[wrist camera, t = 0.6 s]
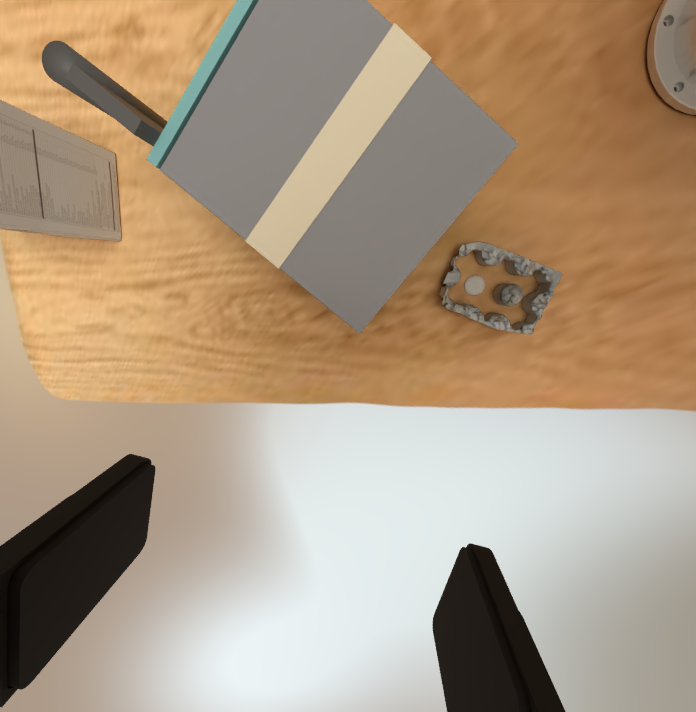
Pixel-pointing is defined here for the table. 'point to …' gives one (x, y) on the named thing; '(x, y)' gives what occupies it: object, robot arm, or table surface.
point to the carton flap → (127, 108)
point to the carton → (335, 149)
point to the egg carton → (502, 287)
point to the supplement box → (55, 180)
